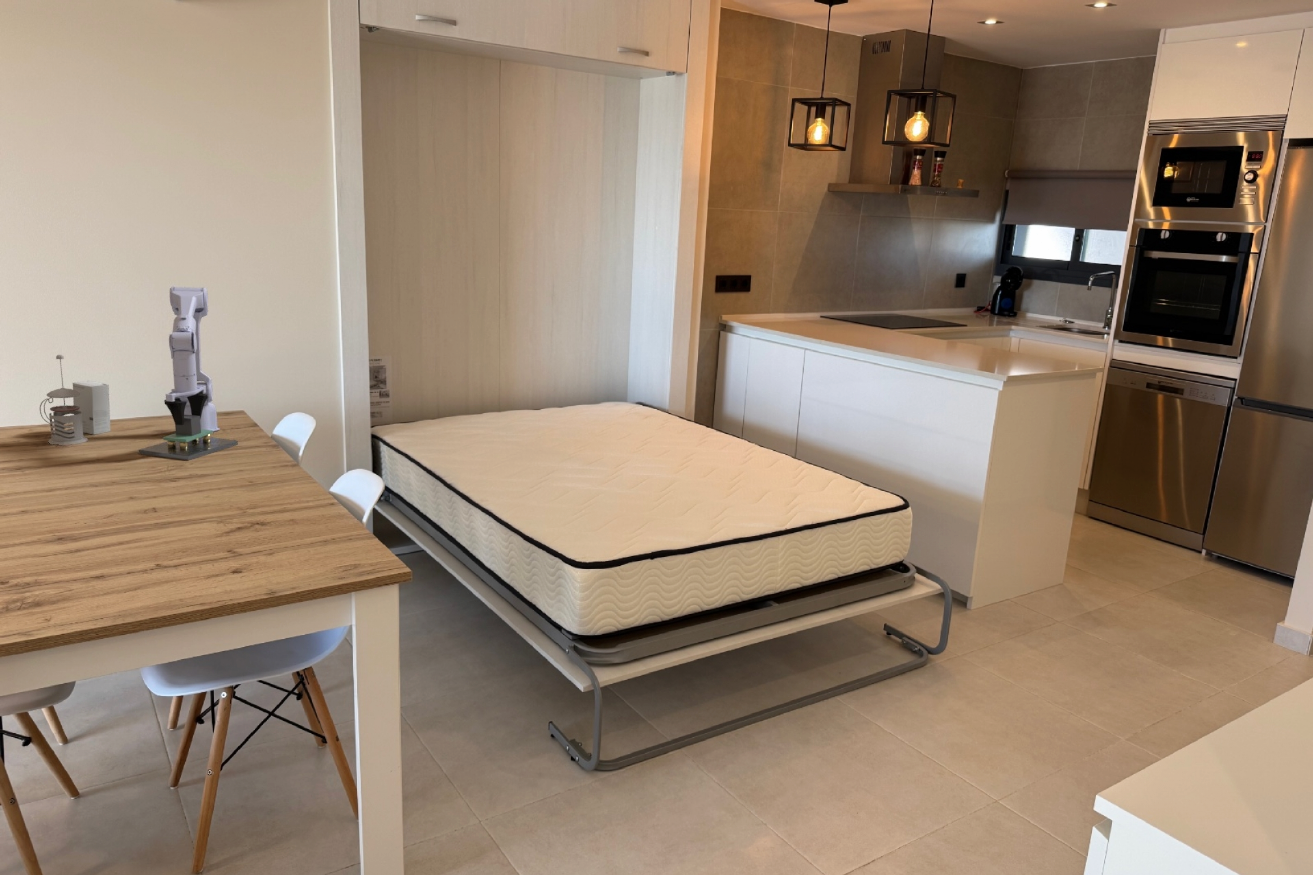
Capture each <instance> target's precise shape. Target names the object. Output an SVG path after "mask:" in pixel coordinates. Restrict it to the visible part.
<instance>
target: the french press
mask: <svg viewBox="0 0 1313 875" xmlns="http://www.w3.org/2000/svg"><path fill="white" fill-rule="evenodd" d="M55 359H56V360H59V364H60V373H61V374H60V375H61V388H57V389H54V390H50V391H49V392H48V393H46V396H47V398H45V399H43V400H42V401H41V402H40V405H39V414H40V417H41V418H42V419H43V420H44V422H46V423H48V424H49V427H50V437H51V438H50V439H49V440H47V443H48V442H49V443H50V444H49V443H48V444H49V445H53V444H59V445H58V446H67V445H68V446H70V445H71V444H72V445H78V444H82V443H86V442H87V441H89V439H88V438H87V437H85V436H84V433H83V426H82V415H81V412H80V411H75V410H78V409H79V408H80V407H79V406H75V405H74V404H72V405H71V404H70V405H67V404H66V400H65V399H70V398H73V397H77V396H80V393H79V392H78V391H76V390H73V388H65V387H64V380H63V379H64V378H63V369H62V360H64V359H65V357H64V355H63V354H57V355H56V357H55ZM50 399H51V402H50ZM54 399H63V405H57V406H52V407H50V408H49V410H50V411H51V412H50V413H48V416H49V417H48V416H47V413H46V409H45V408H46V407H45V406H46V403H47V402H48V403H49V404H52V403H54ZM43 403H44V404H43ZM42 405H43V412H44V414H45V416H46V418H47V420H46V419H45V418H44V417H43V415H42V414H43V413H42V410H41V409H42V408H41V407H42ZM52 414H53V415H52ZM48 420H49V421H48ZM66 424H67V425H66Z"/></svg>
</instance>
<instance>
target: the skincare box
mask: <svg viewBox="0 0 1313 875" xmlns="http://www.w3.org/2000/svg"><path fill="white" fill-rule="evenodd" d="M72 390H76V391H78V392H79V393H80V396H77V397H72V400H73V402H72V403H73V405H75V406H79V407H80V408H79V409H78V410H75V411H80V412H81V415H82V426H83V434H90V435H99V434H103V433H109V432H111V410H110V386H109V384H107V383H103V382H100V381H93V380H84V381H75V382H72Z"/></svg>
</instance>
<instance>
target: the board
mask: <svg viewBox="0 0 1313 875" xmlns="http://www.w3.org/2000/svg"><path fill="white" fill-rule="evenodd" d="M174 428H175V429H174V430H175V432H174V433H173V434H168V435H166V436H163V437H162V441H167V440H168V441H178V442H189V441H191V440H194V439H197V438H200V437H203V436H206V435H209V434H210V435H211V434H214V432H213V430H204V429H201V423H200V416H195V415H184V424H183V425H175V424H174Z"/></svg>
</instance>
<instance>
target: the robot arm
mask: <svg viewBox="0 0 1313 875" xmlns="http://www.w3.org/2000/svg"><path fill="white" fill-rule="evenodd" d="M208 295H209V294H208V289H207V288H206V287H205V286H203V287H195V286H192V287H191V286H190V287H186V286H184V287H183V286H171V287H170V288H169V303H170V306H171V310H172V312H173V314H174V316H176V317H175V318H174V319H173V324H172V331H171V332H172V333H169V334H168V347H169V351H170V358H171V360H172V372H173V373H172V374H173V386H174V388H171V389H170V390H171V391H170V392H169V393H165V399H164V400H163V402H164V404H165V405H166V408H167V409H168V410H169V412H170V414H171V416H172V419H173V422H174V426H175V425H183V424H184V415H195V416H200V423H201V429H204V430H213V433H214V432H216V431H217V432H218V431H219V430H220V429H221V428H219V427H218V416H217V409H216V406H215V404H213V402H212V401H213V399H214V398H213V397H214V393H213V392H214V391H213V390H214V389H213V382H212V380H213V379H212V378H211V376H209V375H207V374H206V373H205V372H203V371H202V353H201V321H202V318H204V317H206V316H208V313H209V296H208ZM165 405H164V406H165Z"/></svg>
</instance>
